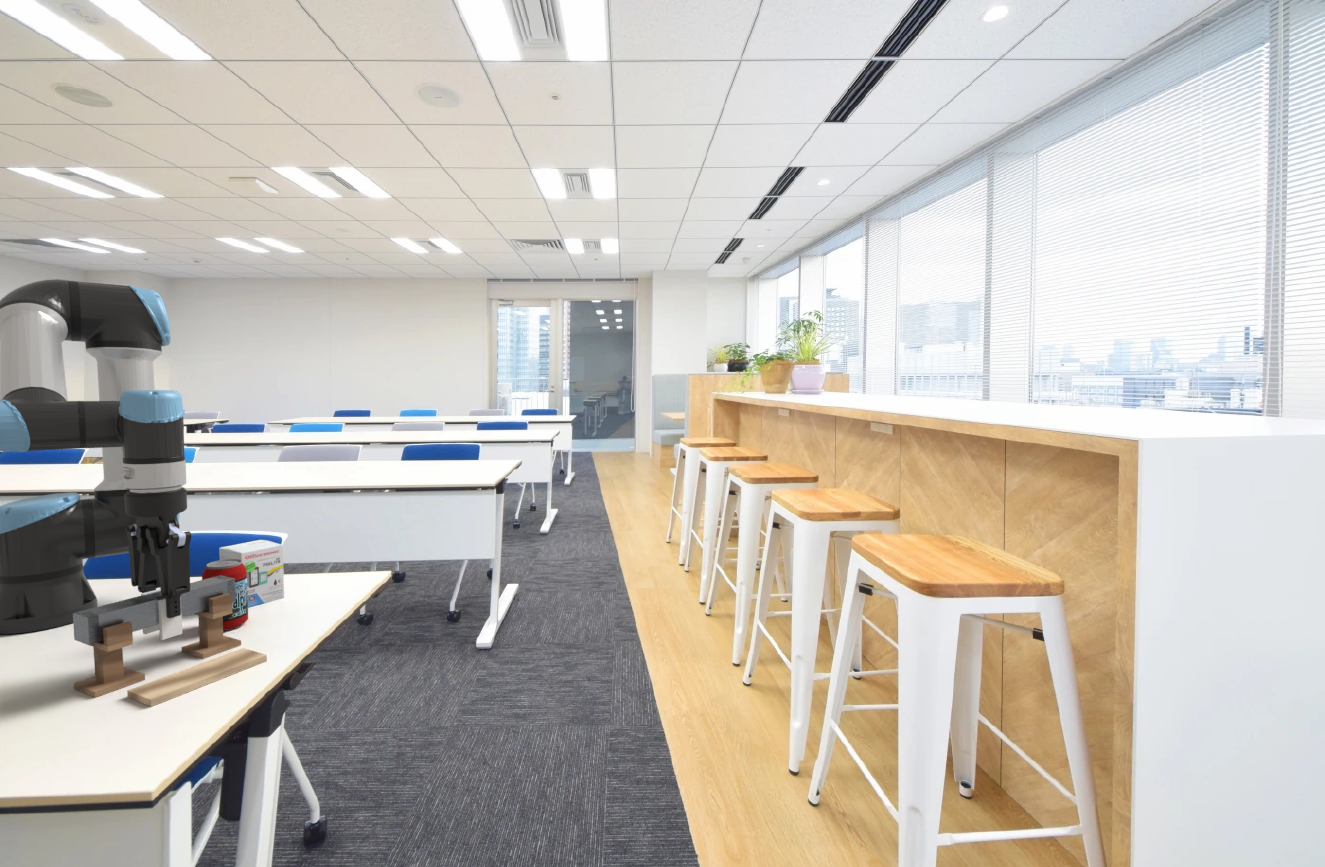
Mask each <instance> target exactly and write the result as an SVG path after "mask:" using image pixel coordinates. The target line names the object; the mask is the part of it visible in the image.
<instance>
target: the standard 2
mask: <svg viewBox="0 0 1325 867" xmlns="http://www.w3.org/2000/svg"><path fill="white" fill-rule="evenodd" d="M232 613H233V612H232V594H229V593H228V594H224V595H220V596H217V597H213V598H210V599H209V609H208V610H205V611H201V612H198V613H195V614H194V615H197V616H198V635H199V636H198V637H199V638H198V639H199V641H196V642H193V643H190V644H187V645H184V646H181V653H184V654H188V655H191V656H193V657H196V658H200V659H206V658H209V657H212V656H214V655H217V654H221V653H223V652H225V651H229V650H231V649H233V648H237V647H239V646H241V645H242V640H241V639H238V638H234V637H230V636H227V635H224V631H223V616H225V615H229V614H232Z"/></svg>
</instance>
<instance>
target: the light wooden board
mask: <svg viewBox="0 0 1325 867" xmlns="http://www.w3.org/2000/svg"><path fill="white" fill-rule="evenodd" d="M267 656H268V655H267V654H265V653H262V652H258V651H255V650H251V649H247V648H246V647H245V648H244V647H243V648H240V649H237V650H234V651H232V652H229V653H227V654H224V655H220V656H217V657H216V658H213V659H210V660H207V661H204V662H202V663H199V664H197V665H193V666H190V667H188V668H185V669H183V670H179V671H177V672H173V673H171V674H169V675H166V676H163V677H161V678H157V679H155V680H152V681H150V682H147V683H145V684H141V685H139V686H136V687H133V688H130V689H128V690H126V692H127V698H129V699H130V700H133V701H135V702H139V703H141V704H144V705H146V706H148V707H154V706H157V705H159V704H163V703H165V702H166V701H170V700H171V699H172V700H173V699H174V698H177V697H179V696H182V695H184V694H187V693H189V692H192V691H194V690H196V689H200V688H202V687H205V686H207V685H209V684H212V683H215V682H217V681H219V680H222V679H224V678H228V677H229V676H232V675H235V674H237V673H239V672H242V671H245V670H247V669H250V668H252V667H254V666H256V665H257V666H258V665H260V664H262V663H265V662H267V661H268V659H267V658H268V657H267Z"/></svg>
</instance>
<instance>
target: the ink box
mask: <svg viewBox="0 0 1325 867" xmlns="http://www.w3.org/2000/svg"><path fill="white" fill-rule="evenodd" d="M218 550H219V551H218V554H219V560H225V559H240V560H242V563H243V565H244V566H245V567H246V569H247V592H248V608H251V607H252V608H253V607H255V606H258V605H262V604H266V603H269V602H274V601H277V600H280V599H284V598H285V580H284V578H285V577H284V576H285V575H284V574H285V573H284V545H283V544H281V543H277V542H274V541H271V540H266V539H258V540H252V541H248V542H242V543H237V544H232V545H227V546H221V547H219V548H218Z"/></svg>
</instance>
